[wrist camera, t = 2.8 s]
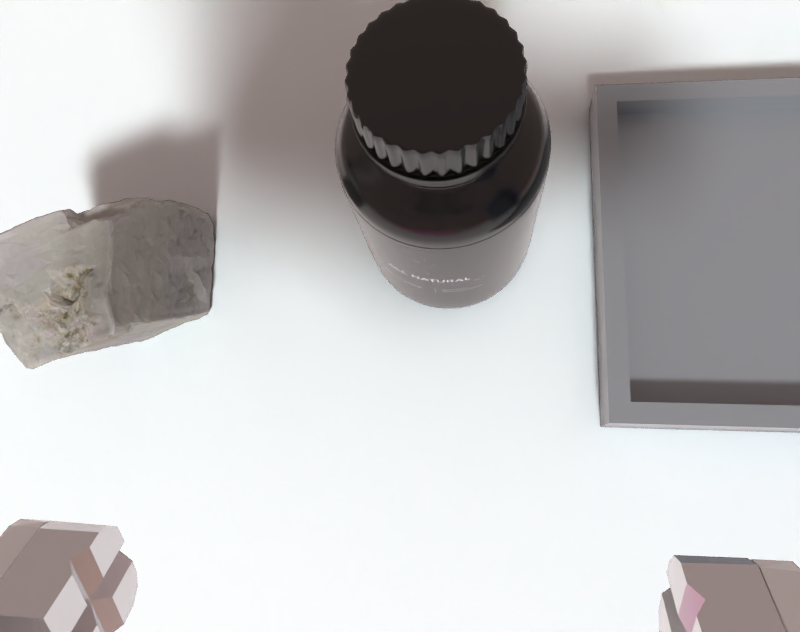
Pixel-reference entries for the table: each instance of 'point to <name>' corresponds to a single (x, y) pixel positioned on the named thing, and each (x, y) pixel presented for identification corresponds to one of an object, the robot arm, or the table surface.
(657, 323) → the tray
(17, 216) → the table surface
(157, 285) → the mineral specimen
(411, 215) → the supplement bottle
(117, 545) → the robot arm
